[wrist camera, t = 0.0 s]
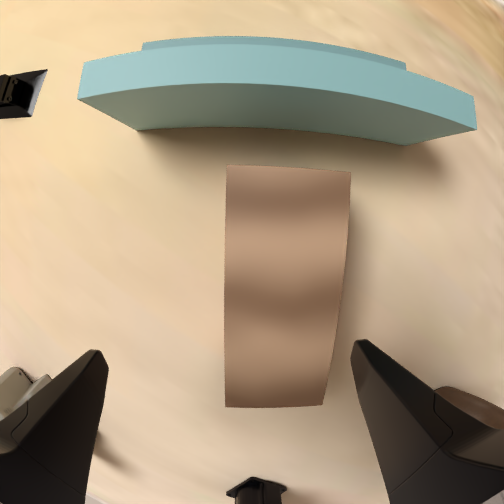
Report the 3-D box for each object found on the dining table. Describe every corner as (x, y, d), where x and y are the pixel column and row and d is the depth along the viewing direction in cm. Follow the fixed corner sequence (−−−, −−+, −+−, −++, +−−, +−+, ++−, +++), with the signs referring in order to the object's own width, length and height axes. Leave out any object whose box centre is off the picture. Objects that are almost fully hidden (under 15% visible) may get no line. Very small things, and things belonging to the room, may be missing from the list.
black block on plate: (61, 64, 20) (38, 49, 16) (41, 127, 22) (14, 120, 17) (-2, 75, 20) (-24, 67, 15) (-18, 128, 21) (-42, 125, 16)
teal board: (405, 145, 23) (477, 129, 13) (136, 130, 22) (77, 99, 12) (399, 67, 21) (457, 26, 11) (146, 48, 20) (105, -9, 10)
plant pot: (442, 438, 31) (485, 501, 15) (367, 451, 30) (404, 538, 14) (486, 360, 28) (554, 417, 12) (414, 364, 27) (492, 454, 12)
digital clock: (9, 361, 26) (-35, 399, 16) (42, 350, 26) (-8, 397, 16) (72, 447, 30) (46, 493, 19) (113, 446, 29) (88, 502, 19)
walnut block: (303, 352, 26) (322, 404, 19) (229, 352, 26) (225, 406, 18) (317, 178, 23) (350, 172, 16) (233, 174, 23) (227, 164, 15)
